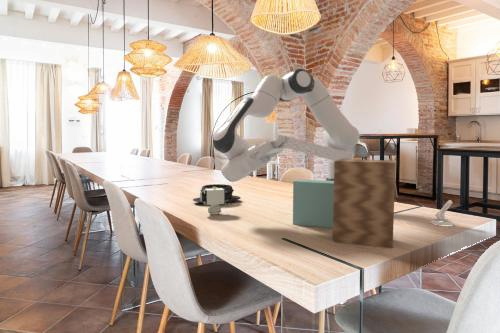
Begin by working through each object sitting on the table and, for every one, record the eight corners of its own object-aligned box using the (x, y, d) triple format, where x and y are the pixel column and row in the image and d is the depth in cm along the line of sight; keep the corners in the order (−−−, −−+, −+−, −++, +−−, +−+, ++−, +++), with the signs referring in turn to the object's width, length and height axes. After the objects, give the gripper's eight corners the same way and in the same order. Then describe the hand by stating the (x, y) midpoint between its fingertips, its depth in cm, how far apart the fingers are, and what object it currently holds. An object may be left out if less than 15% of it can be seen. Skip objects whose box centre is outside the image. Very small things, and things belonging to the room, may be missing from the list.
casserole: (201, 208, 175) (201, 190, 174) (187, 201, 191) (187, 185, 190) (247, 203, 187) (247, 186, 187) (230, 197, 203) (230, 182, 203)
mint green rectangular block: (292, 224, 143) (293, 181, 141) (297, 219, 150) (298, 179, 149) (337, 228, 137) (338, 183, 135) (340, 223, 144) (341, 181, 143)
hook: (461, 216, 134) (444, 203, 137) (442, 237, 141) (425, 225, 144) (468, 209, 139) (451, 197, 142) (448, 229, 146) (433, 218, 149)
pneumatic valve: (229, 214, 160) (228, 186, 159) (202, 216, 157) (201, 187, 156) (225, 211, 166) (225, 185, 165) (199, 213, 162) (199, 186, 161)
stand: (332, 241, 120) (334, 161, 117) (337, 234, 129) (339, 159, 127) (392, 248, 113) (395, 162, 111) (392, 239, 122) (395, 160, 120)
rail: (275, 145, 139) (278, 134, 138) (279, 145, 142) (281, 135, 142) (349, 165, 128) (352, 153, 127) (351, 165, 132) (354, 154, 131)
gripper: (243, 150, 135) (275, 130, 130) (262, 148, 154) (290, 131, 149) (252, 165, 134) (284, 146, 129) (269, 161, 153) (298, 144, 148)
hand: (287, 138), depth 139 cm, fingers closed on rail, 4 cm apart
